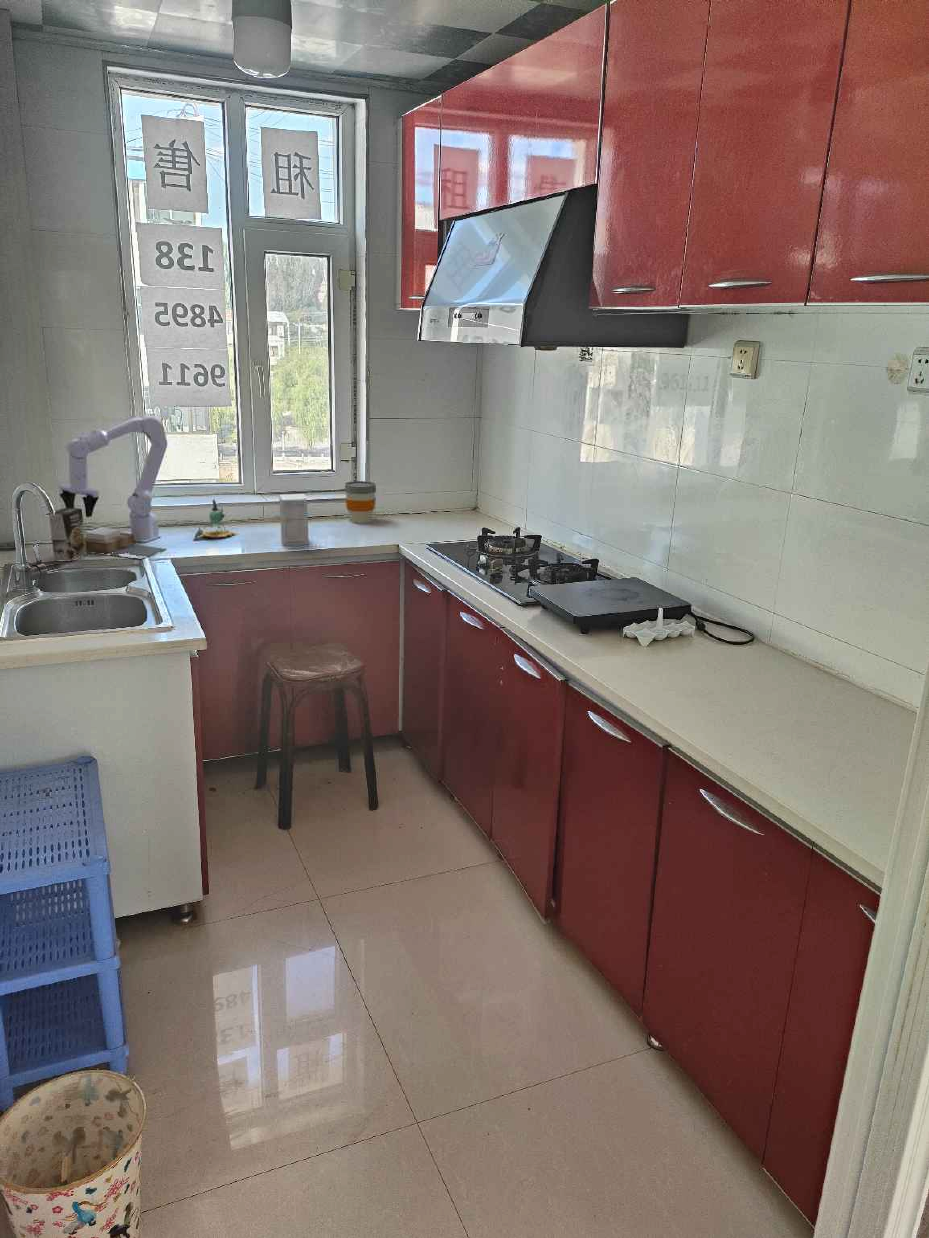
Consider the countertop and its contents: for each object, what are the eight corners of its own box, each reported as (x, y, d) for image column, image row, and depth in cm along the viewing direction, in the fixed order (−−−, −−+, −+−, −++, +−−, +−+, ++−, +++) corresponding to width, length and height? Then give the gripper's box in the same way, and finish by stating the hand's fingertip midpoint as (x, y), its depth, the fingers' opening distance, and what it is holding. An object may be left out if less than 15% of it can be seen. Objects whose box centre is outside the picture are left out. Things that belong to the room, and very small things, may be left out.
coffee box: (71, 562, 289) (65, 514, 283) (53, 561, 290) (47, 512, 285) (87, 555, 297) (82, 508, 292) (70, 553, 298) (65, 506, 293)
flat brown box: (106, 541, 315) (105, 530, 313) (134, 545, 311) (133, 534, 310) (78, 550, 302) (77, 539, 301) (107, 555, 298) (106, 543, 297)
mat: (135, 545, 311) (135, 544, 311) (166, 550, 307) (166, 548, 307) (108, 555, 298) (108, 554, 298) (140, 560, 295) (140, 558, 294)
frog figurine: (185, 536, 326) (187, 496, 322) (233, 536, 336) (235, 497, 332) (193, 542, 318) (195, 501, 314) (242, 542, 328) (244, 502, 324)
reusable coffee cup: (343, 517, 362) (342, 481, 357) (373, 517, 365) (373, 480, 360) (346, 524, 351) (346, 487, 346) (378, 524, 353) (378, 486, 348)
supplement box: (306, 538, 329) (305, 493, 323) (309, 544, 320) (308, 498, 315) (280, 539, 326) (278, 494, 320) (282, 545, 318) (280, 499, 312)
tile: (101, 532, 310) (101, 527, 310) (120, 535, 308) (120, 529, 307) (85, 537, 303) (85, 532, 302) (105, 540, 301) (104, 534, 300)
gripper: (52, 473, 300) (54, 513, 304) (87, 479, 296) (89, 519, 300) (67, 471, 306) (69, 510, 310) (102, 477, 302) (103, 516, 306)
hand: (79, 515), depth 305 cm, fingers open, 7 cm apart
